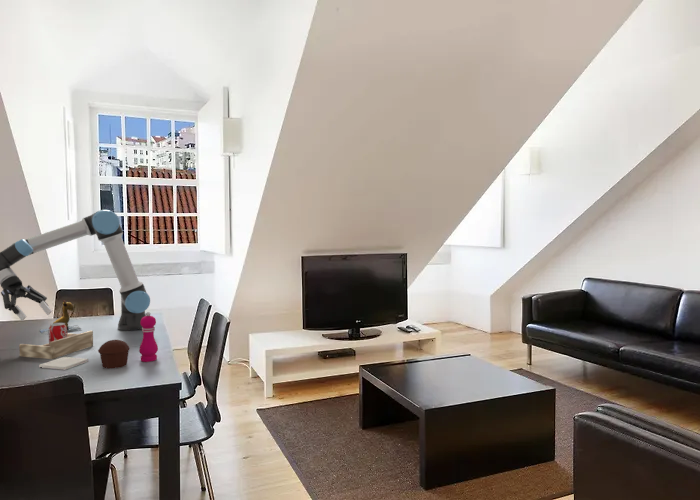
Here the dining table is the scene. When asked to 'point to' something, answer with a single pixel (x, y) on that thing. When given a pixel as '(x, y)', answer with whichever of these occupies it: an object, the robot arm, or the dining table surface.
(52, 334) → the soda can
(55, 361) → the tile pad
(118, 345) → the muffin
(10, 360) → the dining table surface
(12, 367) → the dining table surface
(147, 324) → the pepper mill
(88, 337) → the frame
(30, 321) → the dining table surface
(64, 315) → the stuffed giraffe
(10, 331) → the dining table surface
